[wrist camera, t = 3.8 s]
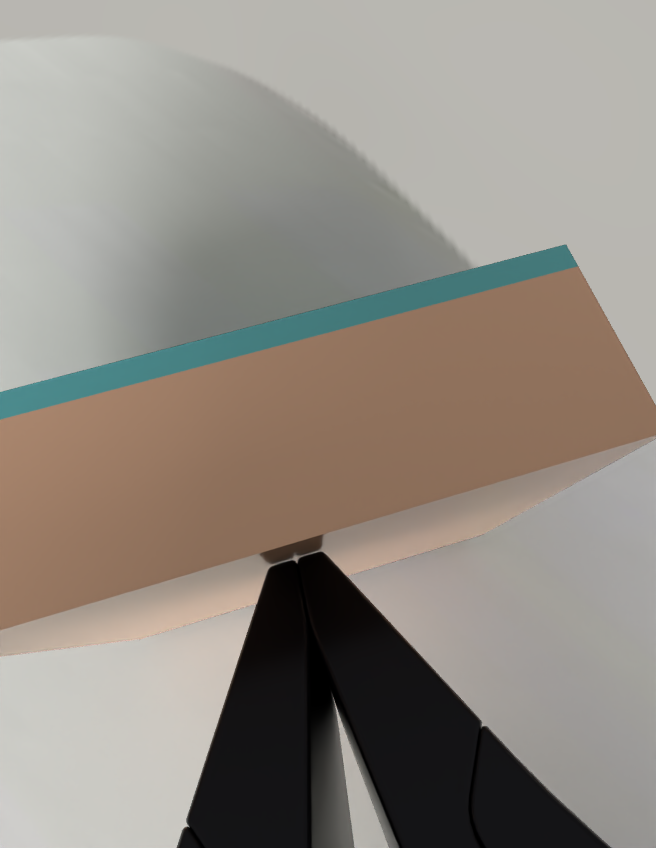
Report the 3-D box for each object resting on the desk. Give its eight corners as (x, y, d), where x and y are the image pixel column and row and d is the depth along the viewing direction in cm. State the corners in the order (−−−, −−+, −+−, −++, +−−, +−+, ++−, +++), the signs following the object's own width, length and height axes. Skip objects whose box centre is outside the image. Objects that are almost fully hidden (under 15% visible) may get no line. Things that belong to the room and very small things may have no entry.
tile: (482, 534, 15) (669, 431, 6) (140, 639, 14) (-154, 676, 6) (445, 440, 16) (565, 244, 7) (124, 532, 15) (-146, 430, 7)
